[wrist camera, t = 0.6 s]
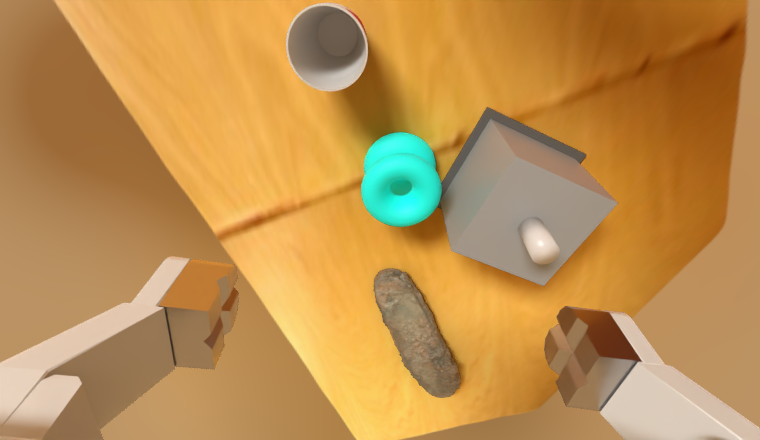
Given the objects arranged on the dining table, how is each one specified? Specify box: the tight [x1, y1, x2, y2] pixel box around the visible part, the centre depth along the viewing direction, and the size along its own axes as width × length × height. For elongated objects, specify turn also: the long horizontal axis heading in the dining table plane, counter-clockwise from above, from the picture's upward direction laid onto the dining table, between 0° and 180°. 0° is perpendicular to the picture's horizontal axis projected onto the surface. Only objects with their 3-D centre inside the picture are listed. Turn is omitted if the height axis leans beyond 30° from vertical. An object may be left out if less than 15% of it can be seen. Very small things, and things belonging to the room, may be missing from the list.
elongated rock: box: [374, 268, 461, 398], centre depth 74 cm, size 35×5×10 cm
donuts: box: [361, 132, 442, 227], centre depth 52 cm, size 10×10×10 cm
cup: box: [286, 3, 368, 91], centre depth 43 cm, size 8×8×10 cm
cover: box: [440, 119, 618, 286], centre depth 50 cm, size 14×14×17 cm
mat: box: [437, 107, 586, 209], centre depth 57 cm, size 16×16×1 cm
